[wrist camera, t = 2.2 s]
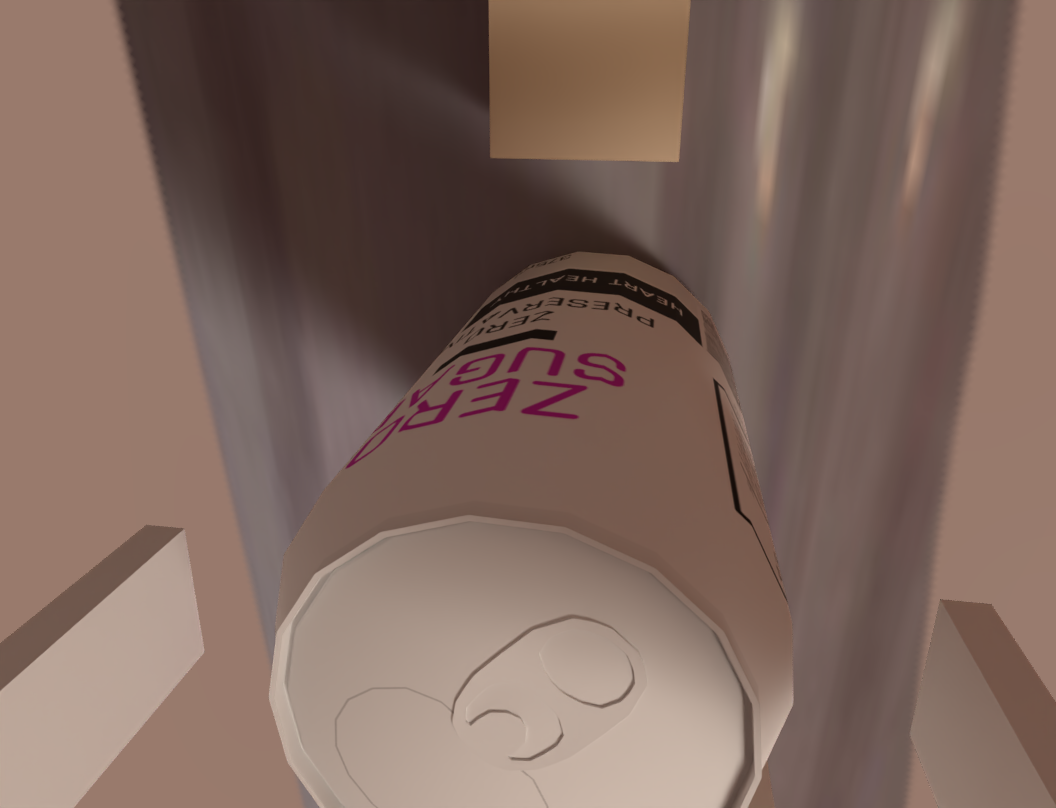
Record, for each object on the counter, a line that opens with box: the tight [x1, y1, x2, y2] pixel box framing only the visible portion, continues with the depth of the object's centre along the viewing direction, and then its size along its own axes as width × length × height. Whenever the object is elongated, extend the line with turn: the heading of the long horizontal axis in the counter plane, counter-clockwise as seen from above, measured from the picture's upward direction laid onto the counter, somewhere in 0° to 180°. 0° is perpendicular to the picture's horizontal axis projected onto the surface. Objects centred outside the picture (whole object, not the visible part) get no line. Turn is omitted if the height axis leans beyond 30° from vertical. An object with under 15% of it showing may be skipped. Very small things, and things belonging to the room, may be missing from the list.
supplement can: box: [269, 251, 793, 808], centre depth 18 cm, size 8×8×15 cm
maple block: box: [489, 0, 691, 162], centre depth 19 cm, size 4×4×6 cm
